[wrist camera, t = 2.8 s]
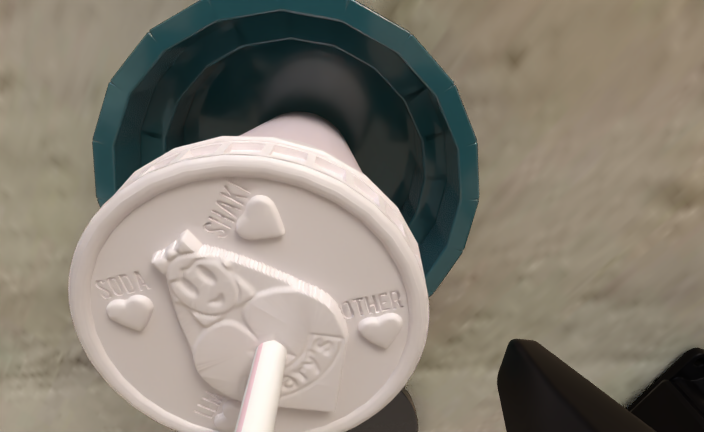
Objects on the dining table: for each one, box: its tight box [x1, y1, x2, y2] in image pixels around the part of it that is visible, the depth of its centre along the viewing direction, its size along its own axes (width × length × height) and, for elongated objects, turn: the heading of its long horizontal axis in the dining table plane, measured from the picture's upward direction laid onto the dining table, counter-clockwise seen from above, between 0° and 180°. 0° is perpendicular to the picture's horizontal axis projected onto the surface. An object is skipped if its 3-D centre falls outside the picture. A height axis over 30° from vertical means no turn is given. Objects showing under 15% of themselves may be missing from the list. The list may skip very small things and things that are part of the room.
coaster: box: [345, 387, 418, 432], centre depth 22 cm, size 9×9×1 cm
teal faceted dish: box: [92, 0, 479, 298], centre depth 15 cm, size 11×11×4 cm
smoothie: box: [68, 112, 429, 432], centre depth 10 cm, size 6×6×14 cm
